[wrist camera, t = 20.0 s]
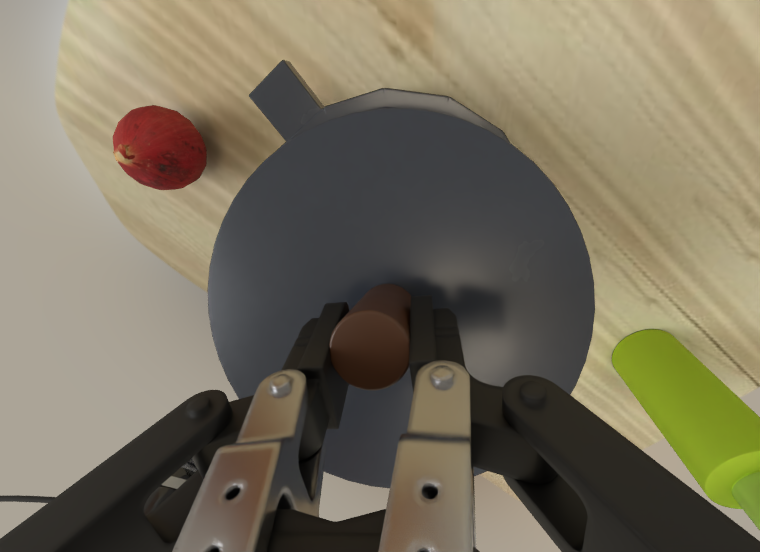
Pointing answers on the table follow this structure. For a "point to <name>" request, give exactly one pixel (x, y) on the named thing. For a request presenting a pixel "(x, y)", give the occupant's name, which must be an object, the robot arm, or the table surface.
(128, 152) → the onion
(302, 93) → the pot
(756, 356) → the table surface
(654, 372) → the soap dispenser
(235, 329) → the lid
